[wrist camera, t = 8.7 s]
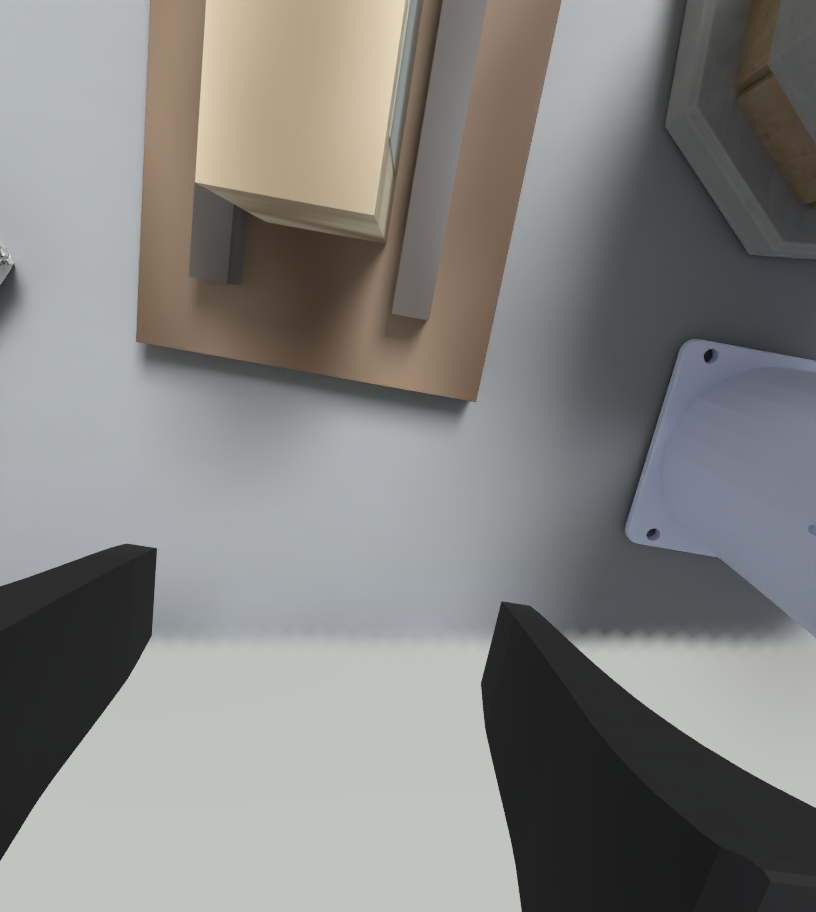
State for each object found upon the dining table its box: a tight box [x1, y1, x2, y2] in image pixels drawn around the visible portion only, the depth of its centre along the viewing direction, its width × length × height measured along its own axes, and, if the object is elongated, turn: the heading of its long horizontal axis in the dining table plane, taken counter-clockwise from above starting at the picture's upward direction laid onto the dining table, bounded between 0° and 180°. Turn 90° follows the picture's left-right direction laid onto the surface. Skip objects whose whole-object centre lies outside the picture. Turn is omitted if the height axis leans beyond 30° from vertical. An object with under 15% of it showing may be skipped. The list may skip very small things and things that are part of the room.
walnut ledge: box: [136, 0, 561, 402], centre depth 16 cm, size 12×21×3 cm, turn 170°
